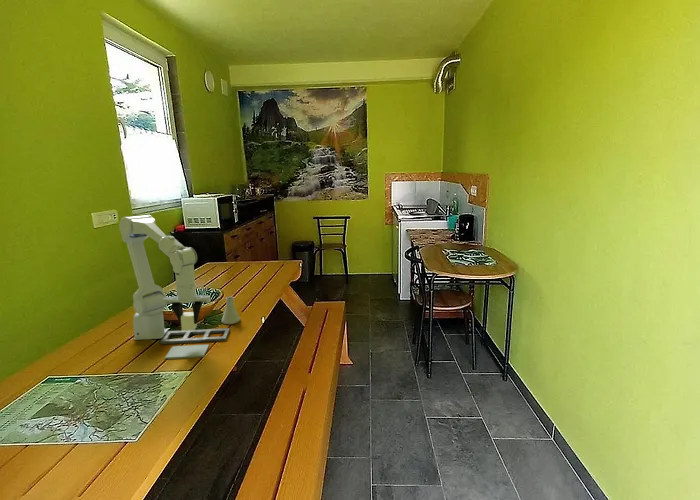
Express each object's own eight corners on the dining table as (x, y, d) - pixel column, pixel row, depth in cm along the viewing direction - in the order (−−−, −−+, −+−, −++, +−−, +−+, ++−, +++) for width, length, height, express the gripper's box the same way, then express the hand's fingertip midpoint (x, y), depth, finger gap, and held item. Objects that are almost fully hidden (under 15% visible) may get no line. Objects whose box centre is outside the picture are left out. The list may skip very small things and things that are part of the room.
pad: (165, 359, 120) (164, 357, 120) (172, 348, 128) (172, 346, 128) (204, 356, 122) (203, 355, 122) (209, 346, 130) (209, 344, 130)
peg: (181, 330, 125) (180, 316, 124) (184, 325, 129) (183, 312, 128) (194, 329, 126) (193, 315, 125) (197, 325, 130) (196, 311, 129)
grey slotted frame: (160, 344, 131) (160, 341, 131) (168, 333, 140) (168, 331, 139) (225, 340, 134) (225, 338, 134) (229, 330, 143) (229, 328, 143)
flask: (217, 322, 150) (216, 299, 148) (230, 316, 157) (229, 294, 155) (231, 326, 147) (229, 302, 145) (244, 320, 153) (243, 296, 151)
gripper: (158, 289, 119) (162, 329, 122) (206, 287, 121) (209, 326, 124) (165, 282, 126) (168, 320, 128) (210, 281, 128) (213, 318, 131)
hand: (188, 323), depth 127 cm, fingers closed on peg, 4 cm apart
